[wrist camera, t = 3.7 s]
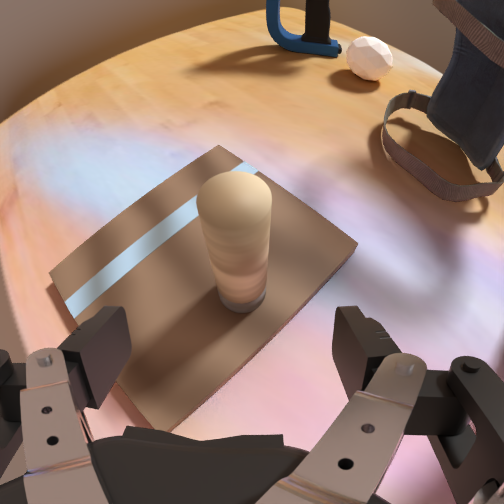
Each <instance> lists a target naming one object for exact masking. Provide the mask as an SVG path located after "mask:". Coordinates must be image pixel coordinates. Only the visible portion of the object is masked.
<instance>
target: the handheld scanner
mask: <svg viewBox="0 0 504 504" xmlns="http://www.w3.org/2000/svg"><path fill="white" fill-rule="evenodd" d="M330 18H331V17H330V8H329V0H306V16H305V33H304V34H303V35H295V34H291V33H289V32H288V31H286V30H285V29H284V28H283V26H282V25H281V22H280V0H267V1H266V20H267V27H268V31H269V33H270V35H271V37H272V38H273V40H274V41H275V42H276V43H277V44H279V45H280V46H281V47H283V48H285V49H287V50H289V51H293V52H300V53H309V54H317V55H324V56H331V57H337V55H338V54H340V53H341V52H342V48H341V46H340V44H338V42H337V40H332V39H330V37H329V30H330Z"/></svg>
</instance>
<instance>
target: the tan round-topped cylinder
mask: <svg viewBox="0 0 504 504" xmlns="http://www.w3.org/2000/svg"><path fill="white" fill-rule="evenodd" d="M196 205H197V210H198V214H199V218H200V222H201V226H202V231H203V235H204V239H205V243H206V247H207V251H208V255H209V258H210V262H211V266H212V270H213V274H214V278H215V282H216V285H217V289H218V293H219V297H220V300H221V302H222V303H223V305H224V306H225V307H226V308H228V309H229V310H231V311H233V312H236V313H248V312H251V311H253V310H255V309H257V308H258V307H259V306H260V305H261V304H262V302H263V301H264V298H265V295H266V282H267V268H268V253H269V238H270V222H271V206H272V195H271V191H270V189H269V187H268V185H267V184H266V183H265V182H264V181H263V180H262V179H261V178H259V177H258V176H256V175H253V174H251V173H247V172H242V171H230V172H224V173H221V174H218V175H216V176H214V177H212V178H210V179H209V180H208V181H206V182H205V183H204V184H203V185H202V187H201V188H200V190H199V192H198V194H197V198H196Z"/></svg>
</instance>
